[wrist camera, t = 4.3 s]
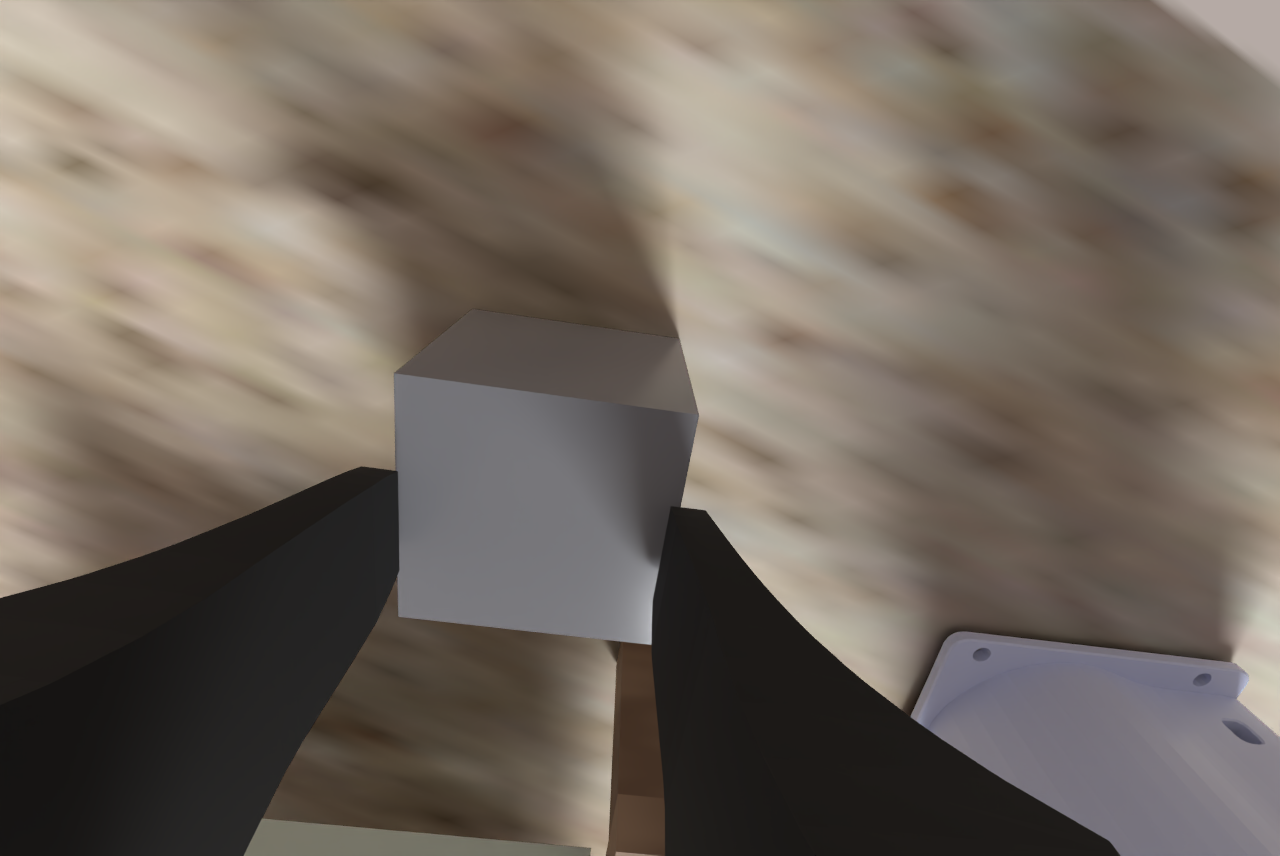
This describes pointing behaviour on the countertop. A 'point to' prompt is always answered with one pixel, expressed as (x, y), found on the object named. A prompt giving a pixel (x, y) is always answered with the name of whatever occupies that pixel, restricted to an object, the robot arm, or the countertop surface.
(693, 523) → the robot arm
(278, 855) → the trapdoor
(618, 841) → the trapdoor frame
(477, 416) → the stone
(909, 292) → the countertop surface
